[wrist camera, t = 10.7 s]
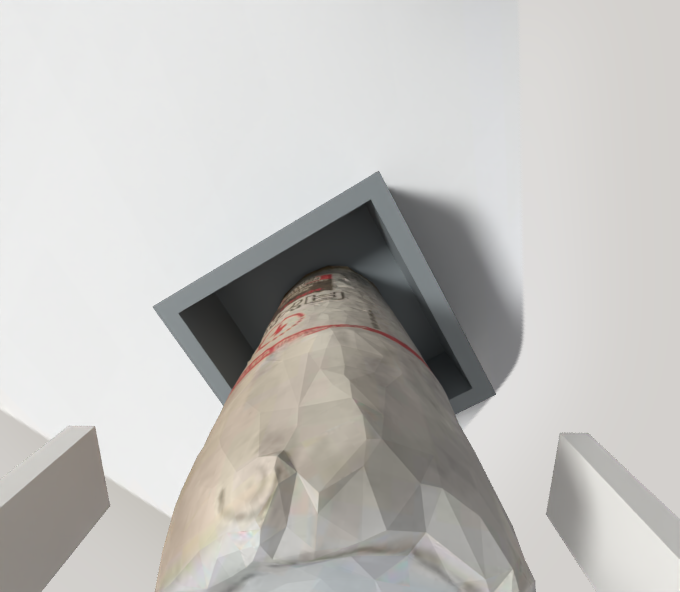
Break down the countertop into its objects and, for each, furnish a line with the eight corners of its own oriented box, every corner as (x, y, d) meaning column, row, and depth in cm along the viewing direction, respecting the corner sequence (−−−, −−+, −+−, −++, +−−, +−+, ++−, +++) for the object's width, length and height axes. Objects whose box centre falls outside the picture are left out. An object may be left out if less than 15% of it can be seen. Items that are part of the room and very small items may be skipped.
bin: (369, 182, 24) (378, 170, 18) (459, 351, 27) (496, 394, 20) (199, 283, 26) (152, 306, 19) (300, 432, 28) (288, 496, 22)
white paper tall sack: (384, 252, 24) (566, 421, 4) (405, 363, 26) (600, 830, 6) (264, 278, 24) (-51, 533, 5) (293, 385, 26) (146, 883, 7)
